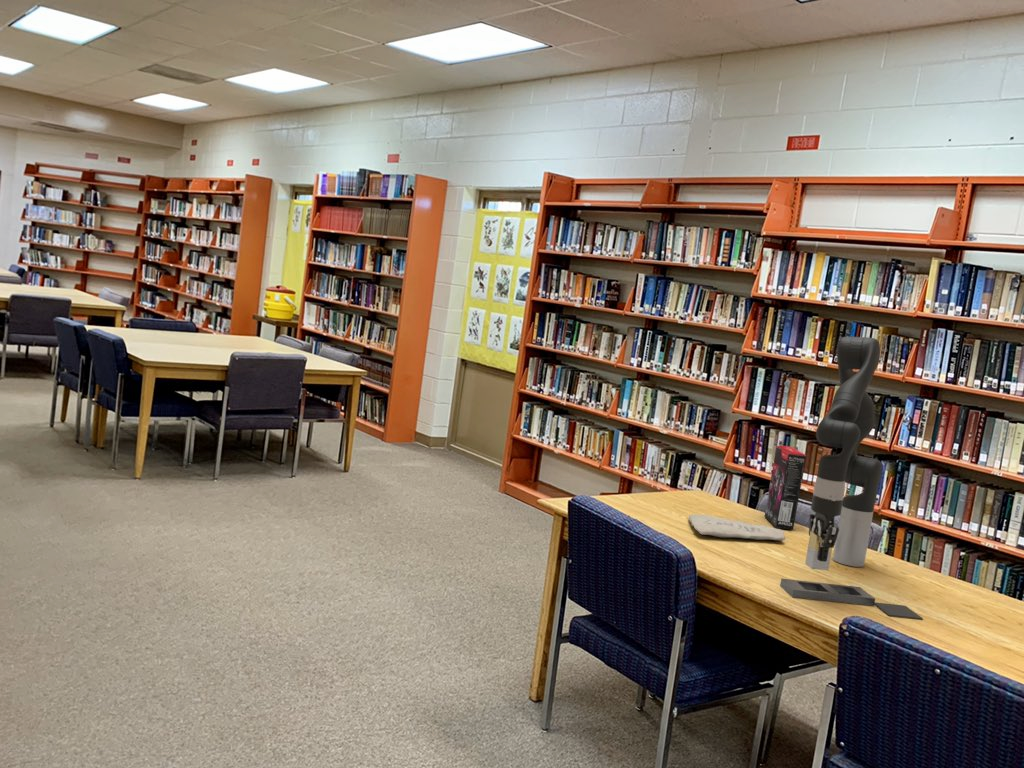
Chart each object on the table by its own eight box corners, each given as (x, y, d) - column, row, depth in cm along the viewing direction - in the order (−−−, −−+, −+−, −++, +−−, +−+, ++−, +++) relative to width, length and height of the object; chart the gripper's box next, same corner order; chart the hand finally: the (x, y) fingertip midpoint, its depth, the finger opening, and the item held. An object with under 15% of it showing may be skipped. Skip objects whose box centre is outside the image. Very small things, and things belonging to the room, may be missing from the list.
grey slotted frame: (780, 585, 234) (781, 578, 233) (858, 594, 235) (860, 587, 235) (792, 597, 225) (793, 589, 224) (873, 606, 226) (875, 598, 226)
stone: (696, 539, 272) (791, 552, 271) (698, 524, 272) (793, 537, 270) (685, 521, 298) (772, 533, 296) (687, 508, 297) (774, 519, 296)
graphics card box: (763, 516, 317) (774, 444, 314) (781, 519, 316) (793, 446, 314) (775, 529, 300) (787, 452, 297) (795, 531, 299) (807, 454, 297)
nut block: (805, 563, 231) (810, 530, 230) (821, 565, 231) (826, 532, 230) (811, 568, 227) (817, 535, 226) (828, 570, 227) (833, 537, 226)
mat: (872, 603, 228) (872, 602, 228) (905, 607, 228) (905, 605, 228) (888, 616, 219) (888, 614, 219) (922, 619, 219) (922, 618, 219)
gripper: (804, 487, 234) (794, 548, 235) (825, 500, 219) (815, 565, 221) (831, 490, 234) (821, 551, 236) (854, 503, 220) (843, 568, 222)
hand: (818, 557), depth 229 cm, fingers closed on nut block, 4 cm apart
